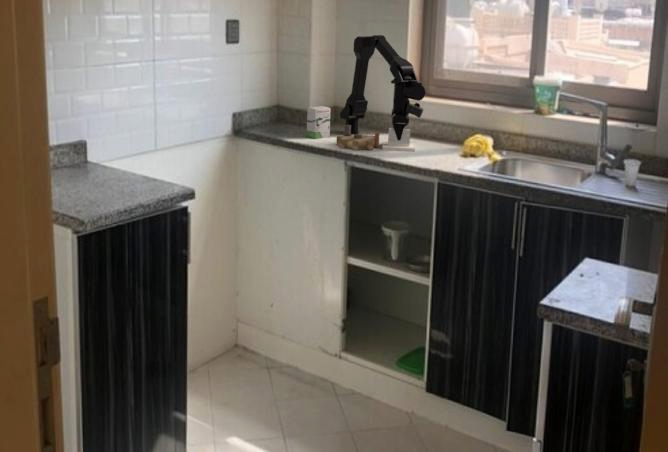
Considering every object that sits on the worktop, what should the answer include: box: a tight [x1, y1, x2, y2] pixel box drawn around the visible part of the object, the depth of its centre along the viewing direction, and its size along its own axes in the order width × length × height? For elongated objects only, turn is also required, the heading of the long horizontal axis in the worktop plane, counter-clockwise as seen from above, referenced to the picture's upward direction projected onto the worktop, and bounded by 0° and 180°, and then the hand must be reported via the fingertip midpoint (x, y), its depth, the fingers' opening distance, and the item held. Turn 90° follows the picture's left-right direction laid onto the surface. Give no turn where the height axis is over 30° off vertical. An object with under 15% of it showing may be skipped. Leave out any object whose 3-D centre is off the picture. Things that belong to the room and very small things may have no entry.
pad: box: [381, 140, 416, 152], centre depth 322 cm, size 11×12×1 cm
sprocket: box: [335, 124, 380, 151], centre depth 321 cm, size 16×16×7 cm
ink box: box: [306, 105, 331, 140], centre depth 335 cm, size 9×5×12 cm, turn 134°
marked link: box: [387, 127, 411, 146], centre depth 321 cm, size 4×8×6 cm, turn 87°
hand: (398, 137), depth 321 cm, fingers open, 9 cm apart
